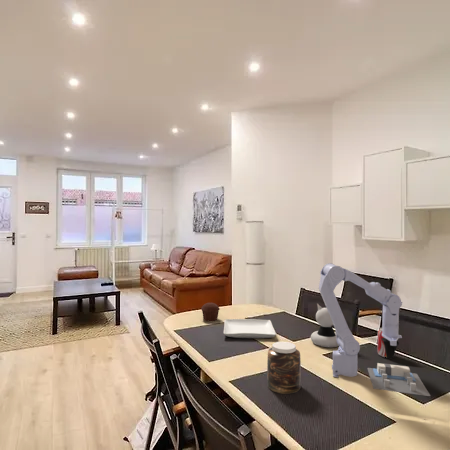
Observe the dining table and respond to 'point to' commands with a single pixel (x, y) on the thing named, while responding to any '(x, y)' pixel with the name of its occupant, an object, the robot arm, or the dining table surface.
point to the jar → (283, 368)
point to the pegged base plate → (397, 382)
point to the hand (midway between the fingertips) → (389, 357)
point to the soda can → (380, 344)
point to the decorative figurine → (324, 329)
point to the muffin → (210, 311)
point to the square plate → (248, 328)
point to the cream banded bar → (393, 369)
